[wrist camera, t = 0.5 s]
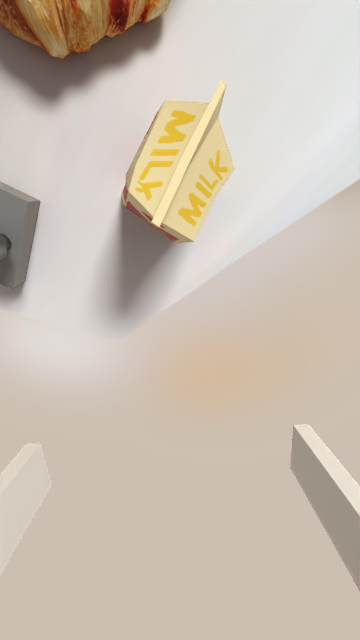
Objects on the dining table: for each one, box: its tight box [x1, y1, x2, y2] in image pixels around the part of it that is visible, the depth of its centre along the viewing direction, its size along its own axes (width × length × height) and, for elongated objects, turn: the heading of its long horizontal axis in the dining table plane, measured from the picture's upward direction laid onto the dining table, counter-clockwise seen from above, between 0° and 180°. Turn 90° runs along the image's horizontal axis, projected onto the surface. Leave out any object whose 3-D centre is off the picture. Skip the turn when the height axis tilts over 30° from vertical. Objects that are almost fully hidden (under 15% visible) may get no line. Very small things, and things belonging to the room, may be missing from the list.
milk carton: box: [122, 80, 234, 243], centre depth 20 cm, size 9×9×20 cm
